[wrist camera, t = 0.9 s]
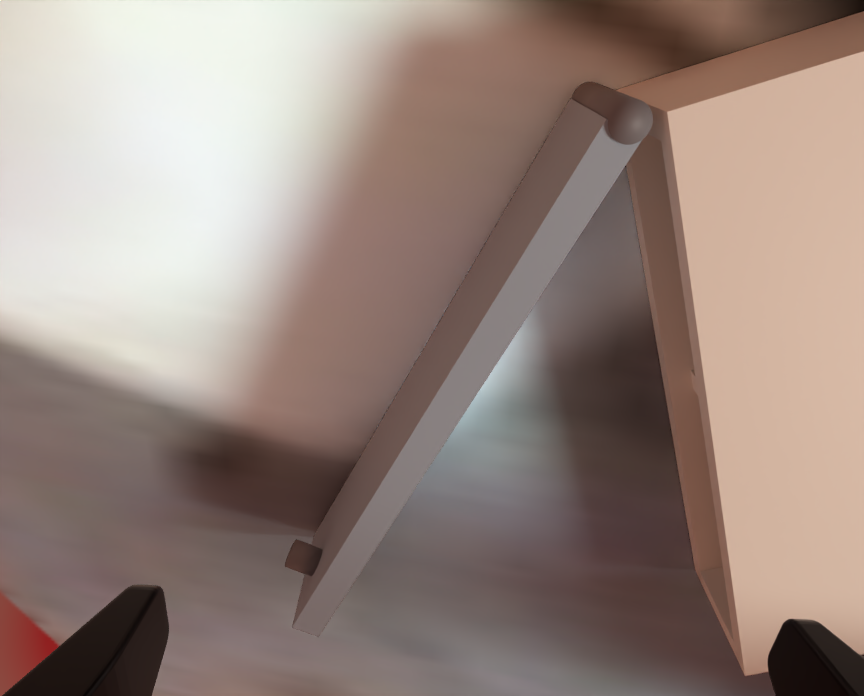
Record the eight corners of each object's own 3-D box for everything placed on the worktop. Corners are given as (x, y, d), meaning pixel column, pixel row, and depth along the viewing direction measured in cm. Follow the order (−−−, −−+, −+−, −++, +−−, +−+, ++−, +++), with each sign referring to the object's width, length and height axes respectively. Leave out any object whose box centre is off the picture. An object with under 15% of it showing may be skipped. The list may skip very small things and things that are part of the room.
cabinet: (971, 512, 26) (1080, 613, 22) (695, 570, 28) (745, 675, 23) (1016, -37, 18) (1213, -57, 13) (613, 90, 19) (667, 111, 15)
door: (336, 544, 27) (317, 639, 23) (291, 526, 26) (264, 620, 22) (612, 92, 19) (661, 112, 15) (554, 57, 18) (588, 67, 14)
